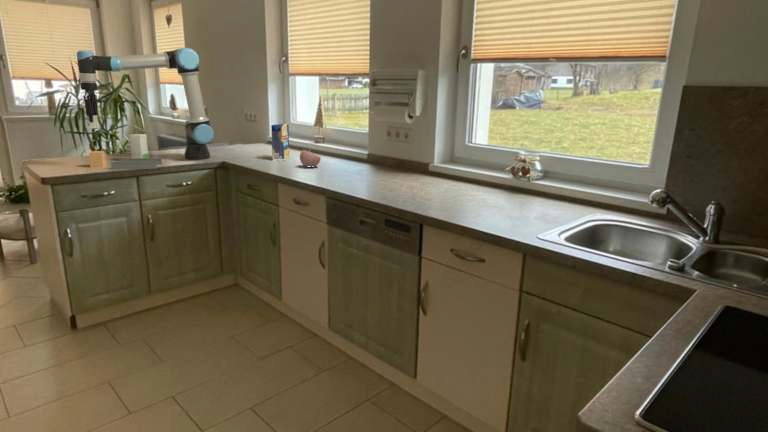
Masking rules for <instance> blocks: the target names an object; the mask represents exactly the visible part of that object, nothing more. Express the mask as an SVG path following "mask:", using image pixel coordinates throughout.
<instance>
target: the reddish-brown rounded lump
mask: <svg viewBox="0 0 768 432" xmlns="http://www.w3.org/2000/svg"><path fill="white" fill-rule="evenodd" d="M313 150H314V147H311V148H309V150H306V149H302V150H301V152H300V153H299V160H300V162H301V164H302V165H303V166H304V167H306V166H311V167H312V166H315V167H316V166H319V164H320V162H321V157H320V156H319V155H317V154H315V153H313V152H312V151H313ZM312 168H313V167H312Z"/></svg>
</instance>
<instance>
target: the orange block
mask: <svg viewBox="0 0 768 432" xmlns="http://www.w3.org/2000/svg"><path fill="white" fill-rule="evenodd" d="M88 158H89V165H90V168H91V167H103V168H104V167H106V166H107V159H106V151H105V150H96V151H95V150H93V151H90V152H88Z"/></svg>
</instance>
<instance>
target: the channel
mask: <svg viewBox="0 0 768 432" xmlns="http://www.w3.org/2000/svg"><path fill="white" fill-rule="evenodd" d="M162 160H163V158H161V157H160V158H158V157H157V158H156V157H153V158H152V157H151V158H132V157H131V158H129V157H128V158H127V157H125V158H122V157H121V158H118V161H117V162H116V161H113V162H110V165H111V169H113V170H116V169H117V170H119V169H120V170H121V169H122V170H126V169H127V170H130V169H132V170H133V169H135V170H136V169H139V170H140V169H141V170H143V169H146V170H147V169H148V170H149V169H150V170H151V169H158V166H157V165H163V161H162Z"/></svg>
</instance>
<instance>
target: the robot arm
mask: <svg viewBox="0 0 768 432" xmlns="http://www.w3.org/2000/svg"><path fill="white" fill-rule="evenodd" d="M76 60H77V68H78V74H79V75H77V76H78V78H79V81H80V90H81V91H82V90H83V91H84V94H83V95H82V97H83V100H84V107H85V116H87V117H88V125H89V126H88V127H89V129H99V123H98V116H99V109H98V96H97V94H96V93H95V91H98V90H99V88H98V83H96V82H98V80H97V79H98V78H97V72H104V73H105V72H107V73H108V72H121V71H132V70H143V69H144V70H145V69H147V70H148V69H159V68H166V69H167V70H172V69H174V70H177V74H178V75H179V76H181V79H182V85H183V89H184V94H185V98H186V103H187V107H188V108H187V109H188V112H189V113H188V114H189V120H186V121H185V123H184V127H185V128H184V129H185V139H186V141H185V142H186V147H185V150H184V156H183V157H184V159H186V160H187V159H188V160H206V159H210V158H211V153H210V151H209V147H208V145H207V144H209V143H211V141H212V140H213V139H214V137H215V136H214V135H215V132H214V130H213V128H212V126H211V123H210V119H209V118H208V117H207V115H206V110H205V106H204V101H203V96H202V91H201V86H200V82H199V76H198V75H199V73H200V68H199V64H200V58H199V55H198V53H197V52H196V51H195V50H194V49H193V48H189V47H181V48H178V49H174V50H169V51H164V52H163V53H151V54H133V55H131V54H129V55H116V56H109V55H108V56H106V55H95V54H94V52H93V51H91V50H90V51H89V50H78V51H76Z"/></svg>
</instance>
